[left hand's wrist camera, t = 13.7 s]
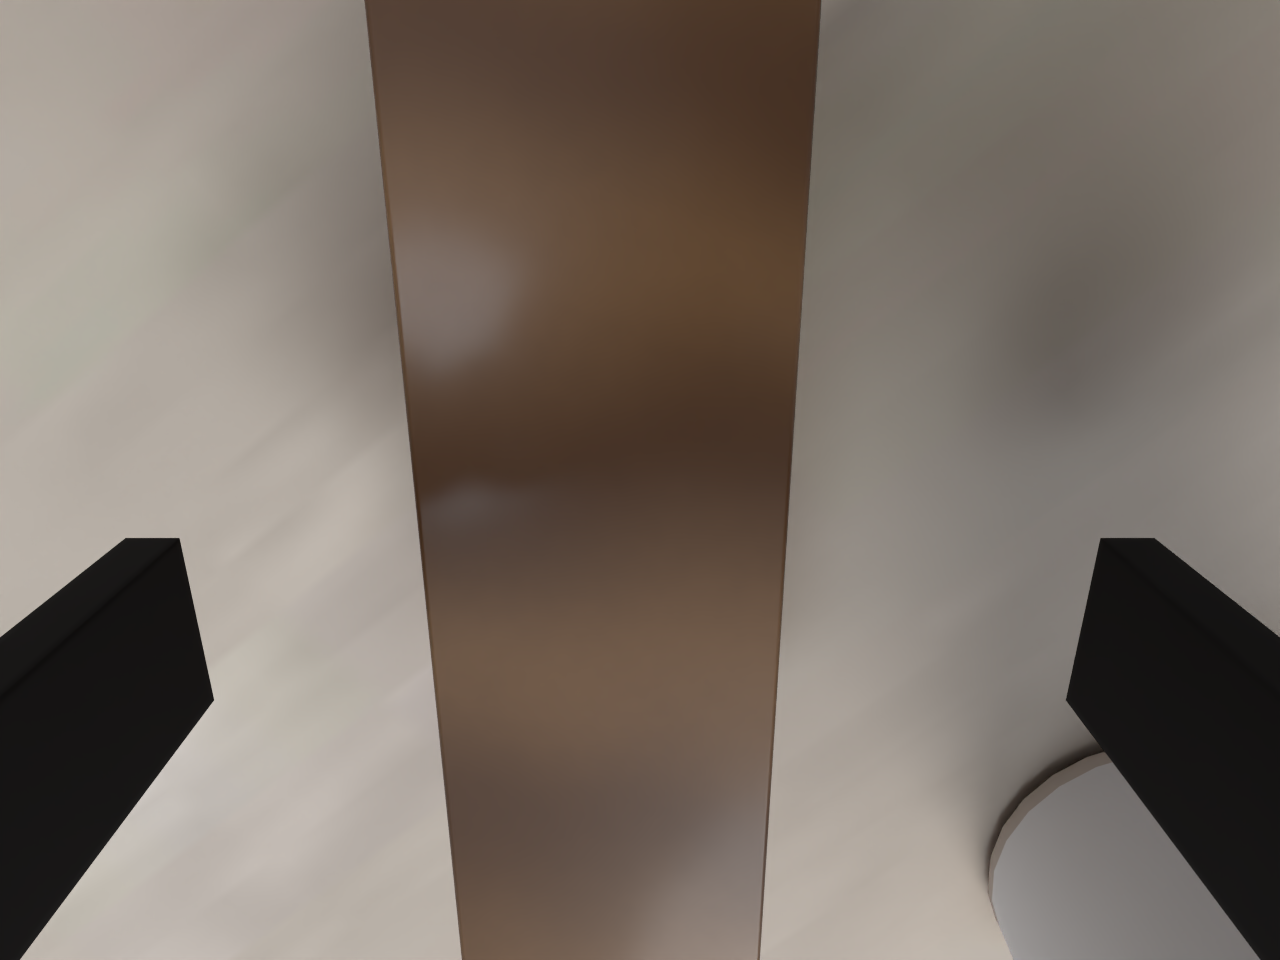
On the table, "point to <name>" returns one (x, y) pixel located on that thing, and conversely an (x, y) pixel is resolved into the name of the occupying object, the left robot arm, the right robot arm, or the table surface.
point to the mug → (1101, 878)
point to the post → (601, 446)
